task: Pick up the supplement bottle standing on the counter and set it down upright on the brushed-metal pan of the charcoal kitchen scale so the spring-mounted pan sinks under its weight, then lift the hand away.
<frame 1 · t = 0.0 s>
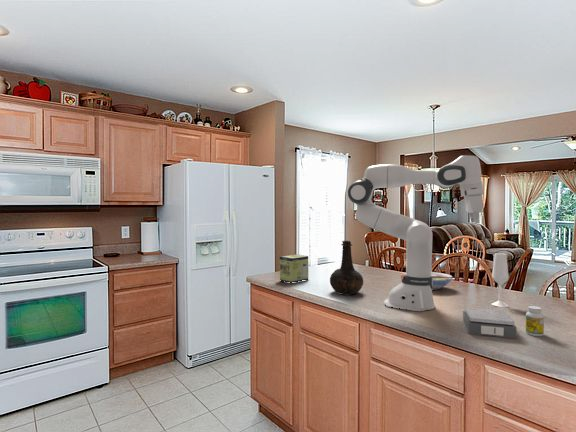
hand: (475, 222, 157), 39 cm above the worktop, tool pointing down, fingers open, 8 cm apart
scale base: (487, 329, 134), on the worktop
scale pan: (487, 315, 134), point 5 cm above the worktop, slide at 0.5 cm
glass bottle: (346, 293, 192), on the worktop
champagne flute: (499, 305, 167), on the worktop
supplement bottle: (534, 334, 129), on the worktop
ramen bowl: (430, 288, 201), on the worktop
protein box: (294, 281, 222), on the worktop
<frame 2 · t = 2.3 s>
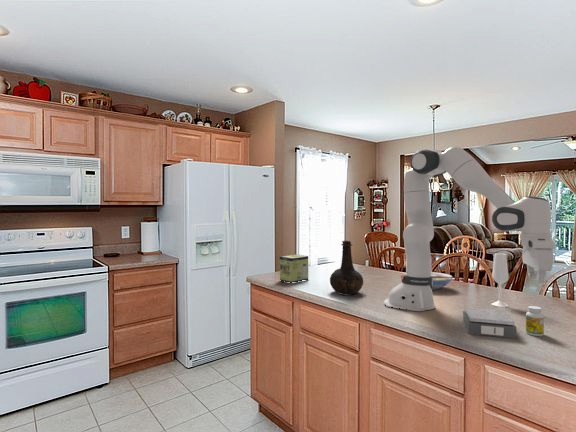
hand: (535, 279, 129), 20 cm above the worktop, tool pointing down, fingers open, 8 cm apart
nothing on the worktop moved.
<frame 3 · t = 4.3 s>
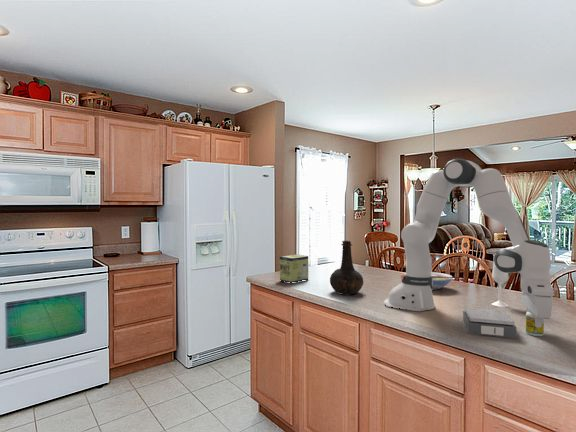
hand: (534, 323, 129), 4 cm above the worktop, tool pointing down, fingers closed on supplement bottle, 5 cm apart
supplement bottle: (534, 334, 129), on the worktop, touching gripper
everything else where it was.
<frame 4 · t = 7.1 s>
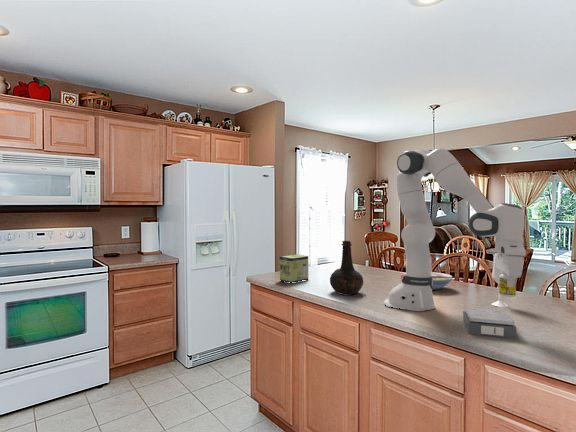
hand: (507, 284, 132), 17 cm above the worktop, tool pointing down, fingers closed on supplement bottle, 5 cm apart
supplement bottle: (506, 295, 132), point 13 cm above the worktop, touching gripper
everything else where it was.
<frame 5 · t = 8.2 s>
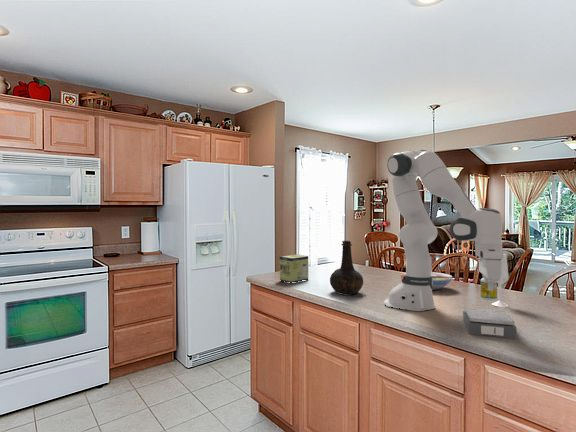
hand: (488, 288, 134), 15 cm above the worktop, tool pointing down, fingers closed on supplement bottle, 5 cm apart
supplement bottle: (488, 299, 134), point 11 cm above the worktop, touching gripper
everything else where it was.
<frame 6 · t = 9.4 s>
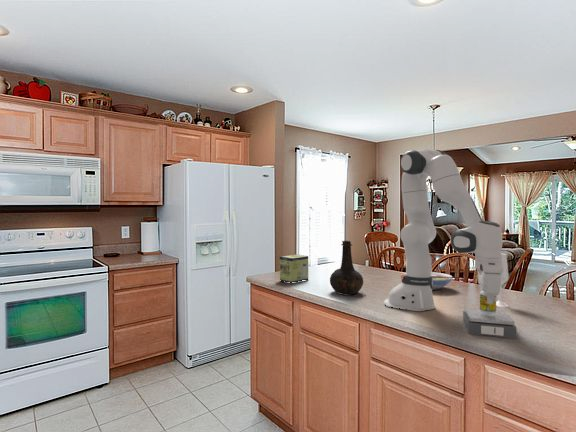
hand: (487, 301, 134), 11 cm above the worktop, tool pointing down, fingers closed on supplement bottle, 5 cm apart
supplement bottle: (487, 312, 134), point 6 cm above the worktop, touching gripper
everything else where it was.
when the fingers open (11 cm above the worktop, at t = 9.8 s): supplement bottle drops 1 cm, resting on scale pan.
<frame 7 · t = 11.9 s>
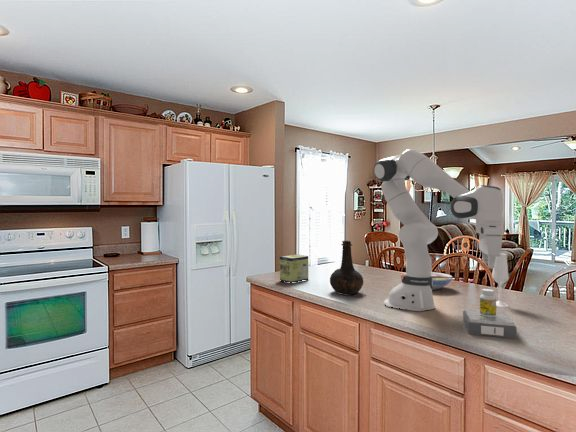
hand: (488, 265, 134), 24 cm above the worktop, tool pointing down, fingers open, 8 cm apart
scale pan: (487, 316, 134), point 5 cm above the worktop, slide at 0.9 cm, touching supplement bottle
supplement bottle: (487, 315, 134), point 5 cm above the worktop, touching scale pan
everything else where it was.
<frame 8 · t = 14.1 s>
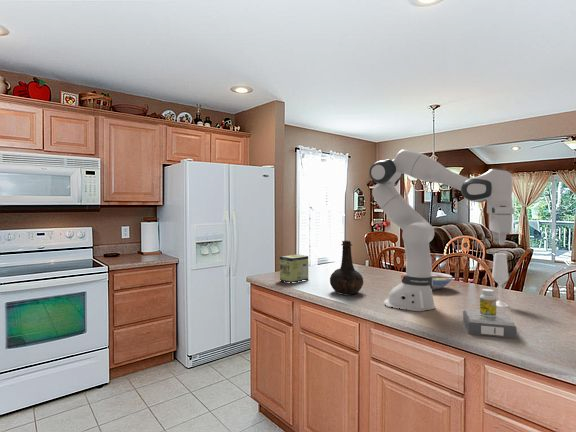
hand: (498, 243, 144), 31 cm above the worktop, tool pointing down, fingers open, 8 cm apart
nothing on the worktop moved.
at the end: supplement bottle inside the target area on the scale base (0.1 cm from its centre), point 5.0 cm above the scale base's base; supplement bottle tilted 0°; supplement bottle touching scale pan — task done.
